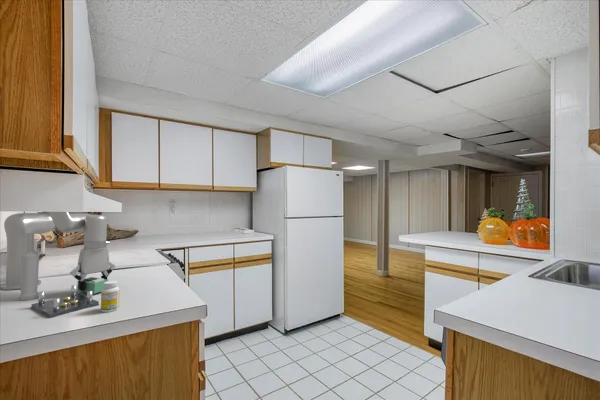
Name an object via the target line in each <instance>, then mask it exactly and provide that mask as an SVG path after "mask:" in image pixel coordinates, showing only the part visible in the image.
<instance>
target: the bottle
mask: <svg viewBox="0 0 600 400" xmlns="http://www.w3.org/2000/svg"><path fill="white" fill-rule="evenodd" d="M34 239H35V234H34V233H27V251H25V253H24V254H23V255H21V289H20V294H19V300H20V301H30V300H34V299H35V300H36V299H37V298H39V291H38V286H39V285H38V280H39V267H40V266H39V264H40V263H39V262H40V254H39V253H38V252H37V253H36V252H35V250H34Z"/></svg>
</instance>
